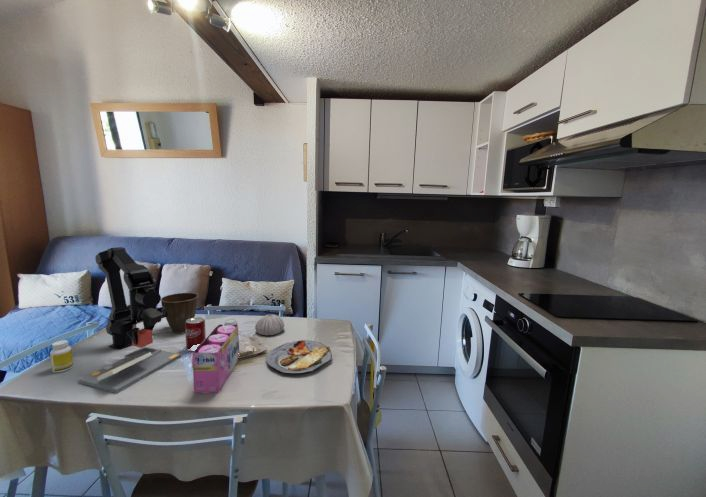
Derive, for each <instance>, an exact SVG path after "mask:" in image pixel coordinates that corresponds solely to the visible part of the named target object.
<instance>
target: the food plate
mask: <svg viewBox="0 0 706 497" xmlns="http://www.w3.org/2000/svg"><path fill="white" fill-rule="evenodd" d="M330 348H331V347H330V346H327V345H325V344H323V343H322V342H318V341H315V340H314V341H313V340H303V339H302V340H301V339H300V340H295V341H290V342H286V343H283V344H281V345H278V346H277V347H274V348H273V349H271V350H270V351H268V353H267V354H266V356H265V359H266V363H267V365H269V366H270V367H271V368H273V369H275V370H277V371H280V372H281V373H287V374H303V373H308V372H313V371H314V370H316V369H318V368H319V367H322V366H323V365H324V364H326V363H327V362H329V361H330V360H331V359H332V358H333V355H332V350H331V349H330ZM282 356H283V357H282ZM281 357H282V358H281ZM280 359H281V360H280ZM279 360H280V361H279ZM279 363H280V364H279ZM291 364H292V365H291ZM286 366H288V367H287V368H285V367H286Z"/></svg>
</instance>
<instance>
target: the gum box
mask: <svg viewBox="0 0 706 497" xmlns="http://www.w3.org/2000/svg"><path fill="white" fill-rule="evenodd" d="M239 339H240V338H239V324H238V323H237V324H236V325H235V326H231V325H229V326H224V325H223V324H218V325H217V326H216V327H214V328H213V330H212V331H211V332H210V333H209V334H208V335H207V336H206V339H205V340H204V341H203V342H202V343H201V344H200V345H199V346H198V347H197V349H196V350H195V351H194V352H192V354H191V355H192V372H193V393H194V394H198V393H202V394H204V393H205V394H206V393H219V392H220V391H221V389H222V387H223V386H224V385H225V383H226V381H227V380H228V378H229V376H230V374H231V372H232V371H233V370H234V367H235V366H236V364H237V363H238V361H239V359H238V353H240V340H239Z"/></svg>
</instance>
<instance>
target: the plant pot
mask: <svg viewBox="0 0 706 497" xmlns="http://www.w3.org/2000/svg"><path fill="white" fill-rule="evenodd" d="M198 299H199V295H198V294H197V293H193V292H179V293H173V294H168V295H165V296H162V297H161V300H160V303H161V307H164V308H165V309H166V310H167V311H168V316H167V317H165V320H166V321H167V324H168V326H169V327H170V328H169V329H171V331H172V333H173V334H183V333H185V322H186V320H188V319H190V318H195V317H196V313H197V312H196V311H197V308H198Z"/></svg>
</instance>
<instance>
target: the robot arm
mask: <svg viewBox="0 0 706 497" xmlns="http://www.w3.org/2000/svg"><path fill="white" fill-rule="evenodd" d="M94 258H95V263H96V264H97V265H98V269H99V270H100V271H101V272H103V274H104V275H105V280H106V284H107V288H108V292H109V298H110V304H111V308H112V309H111V311H110V313H109V315H108V323H107V325H106V327H105V331H106V333H107V334H108V335H110V336H111V338H112V344H110V345H108V347H109V348H112V349H116V350H122V349H124V348H126V347H129V346H132V341H133V343H134V344H135V345H137V344H138V334H137V331H138V330H140V329H141V328H140V327H137V325H138V324H141V323H142V325H143V329H148V330H152V332H153V330H154V328H155V327H156V324H158V323H161V321H162V319H164V318H165V319H166V317H167V316H168V311H167V310H166V309H165V308H164V307H162V306H161V307H156V306H158V305H159V304H160V303H161V298H162V297H161V294H160V293H159V292H157V291H155V288H154V287H156V285H157V284H156V279H155V277H154V276H153V274H152V272H151V270H150V269H149V268H148V267H146V266H145V265H144V264H139V263H137V262H136V261H135V260H134V259H133V258H132V257H131V255H130V254H129V253H128V252H127V250H126V248H125V247H122V246H120V247H119V246H118V247H110V248H108V249H106V250H102V251H100V252H98V253H97V254H96V255H95V257H94ZM121 271H122V272H123V280H122V277H121V276H122V275H121ZM122 281H124V283H125V285H126V286H127V289H128V290H129V291H128V293H129V294H128V295H129V304H127V302H126V295H125V291H124V285H123V282H122ZM154 307H156V308H154Z"/></svg>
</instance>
